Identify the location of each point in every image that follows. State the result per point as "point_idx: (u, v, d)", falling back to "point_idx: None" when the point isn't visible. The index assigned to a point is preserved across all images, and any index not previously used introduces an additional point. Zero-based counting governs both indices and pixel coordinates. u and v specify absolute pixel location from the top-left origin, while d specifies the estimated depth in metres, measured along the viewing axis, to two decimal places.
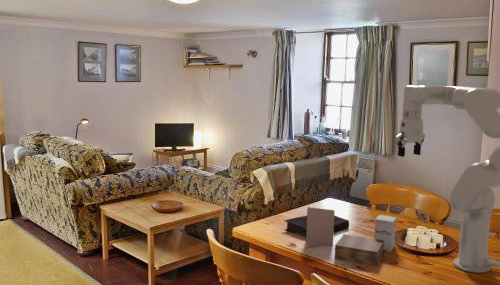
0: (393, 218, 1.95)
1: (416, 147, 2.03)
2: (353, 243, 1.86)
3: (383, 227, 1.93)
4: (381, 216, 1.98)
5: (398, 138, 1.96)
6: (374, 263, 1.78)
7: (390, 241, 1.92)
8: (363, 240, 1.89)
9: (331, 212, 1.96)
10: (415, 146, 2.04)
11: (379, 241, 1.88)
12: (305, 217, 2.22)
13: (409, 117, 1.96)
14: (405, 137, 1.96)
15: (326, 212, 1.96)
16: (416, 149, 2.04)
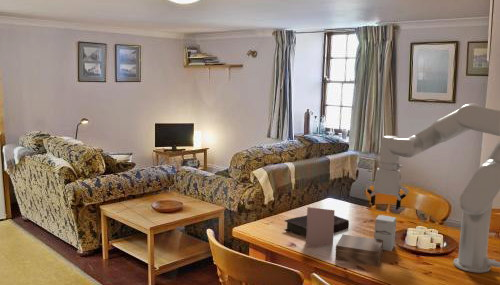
0: (393, 218, 1.95)
1: (374, 198, 1.97)
2: (353, 243, 1.85)
3: (383, 227, 1.93)
4: (381, 216, 1.98)
5: None
6: (375, 263, 1.78)
7: (390, 241, 1.92)
8: (363, 240, 1.89)
9: (331, 212, 1.96)
10: (374, 197, 1.96)
11: (378, 241, 1.88)
12: (305, 217, 2.22)
13: None
14: (400, 188, 1.94)
15: (326, 212, 1.96)
16: (374, 200, 1.97)
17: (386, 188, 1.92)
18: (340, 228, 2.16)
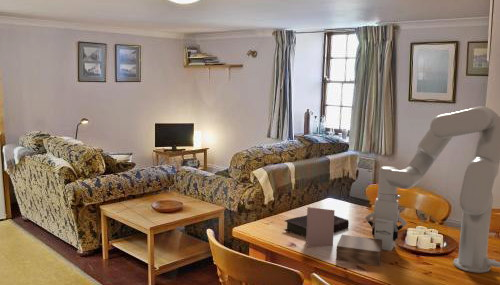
0: None
1: None
2: (354, 243, 1.85)
3: (383, 227, 1.93)
4: None
5: None
6: (376, 263, 1.78)
7: (390, 241, 1.92)
8: (362, 240, 1.89)
9: (331, 212, 1.96)
10: None
11: (378, 240, 1.89)
12: (305, 217, 2.22)
13: None
14: None
15: (326, 212, 1.96)
16: None
17: None
18: (340, 228, 2.16)
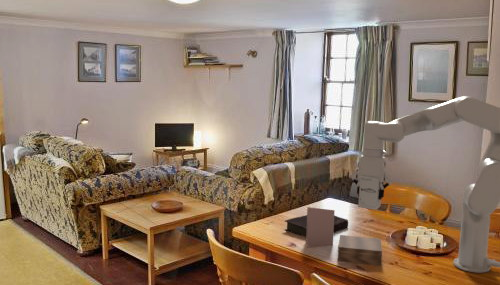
0: None
1: None
2: (354, 243, 1.85)
3: (368, 184, 1.83)
4: None
5: None
6: (378, 263, 1.78)
7: (375, 199, 1.82)
8: (362, 240, 1.89)
9: (331, 212, 1.96)
10: None
11: (377, 240, 1.89)
12: (304, 217, 2.22)
13: None
14: None
15: (326, 212, 1.96)
16: None
17: (370, 176, 1.84)
18: (340, 228, 2.17)
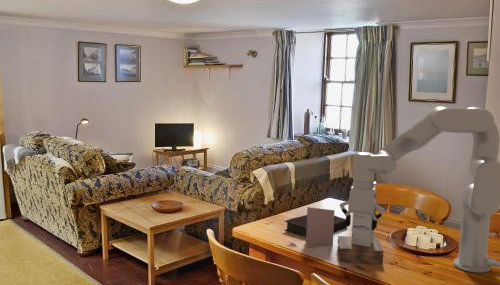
0: None
1: (349, 218, 1.87)
2: None
3: (361, 222, 1.81)
4: None
5: None
6: (380, 263, 1.79)
7: (368, 236, 1.81)
8: None
9: (331, 212, 1.96)
10: (349, 217, 1.86)
11: (375, 239, 1.90)
12: (304, 217, 2.22)
13: None
14: None
15: (326, 212, 1.96)
16: (349, 220, 1.87)
17: (360, 208, 1.82)
18: (340, 227, 2.17)
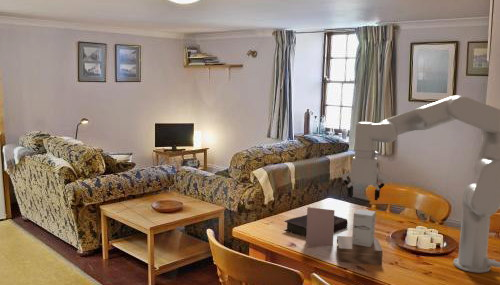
0: (372, 212, 1.84)
1: (352, 189, 1.85)
2: (353, 244, 1.85)
3: (362, 222, 1.81)
4: (360, 210, 1.86)
5: None
6: (379, 262, 1.79)
7: (369, 236, 1.81)
8: None
9: (331, 212, 1.96)
10: (351, 188, 1.84)
11: (374, 239, 1.90)
12: (304, 217, 2.22)
13: None
14: (378, 177, 1.82)
15: (326, 212, 1.96)
16: (352, 191, 1.85)
17: (363, 178, 1.80)
18: (339, 227, 2.17)
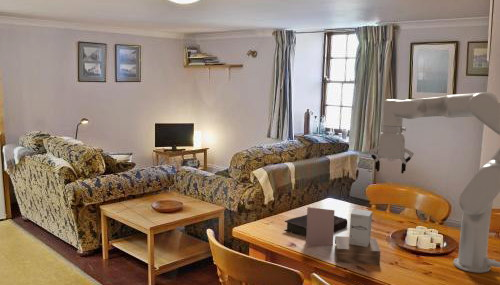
0: (369, 212, 1.84)
1: (379, 163, 1.95)
2: None
3: (359, 222, 1.81)
4: (356, 210, 1.86)
5: None
6: (377, 263, 1.79)
7: (366, 237, 1.81)
8: None
9: (331, 212, 1.96)
10: (379, 163, 1.94)
11: (372, 240, 1.90)
12: (304, 217, 2.22)
13: None
14: (404, 152, 1.92)
15: (326, 212, 1.96)
16: (379, 165, 1.95)
17: (390, 152, 1.90)
18: (339, 227, 2.17)
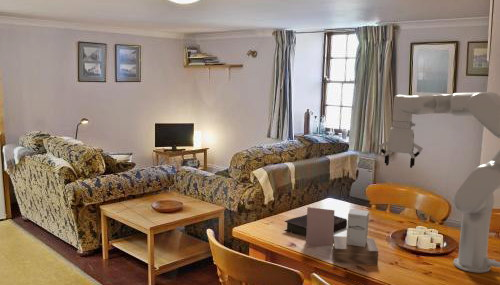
0: (366, 212, 1.84)
1: (388, 157, 1.99)
2: None
3: (356, 222, 1.81)
4: (353, 210, 1.85)
5: None
6: (375, 263, 1.79)
7: (364, 236, 1.81)
8: None
9: (331, 212, 1.96)
10: (388, 157, 1.98)
11: (370, 239, 1.90)
12: (304, 217, 2.22)
13: None
14: (413, 147, 1.96)
15: (326, 212, 1.96)
16: (388, 159, 1.99)
17: (399, 147, 1.94)
18: (339, 227, 2.17)
